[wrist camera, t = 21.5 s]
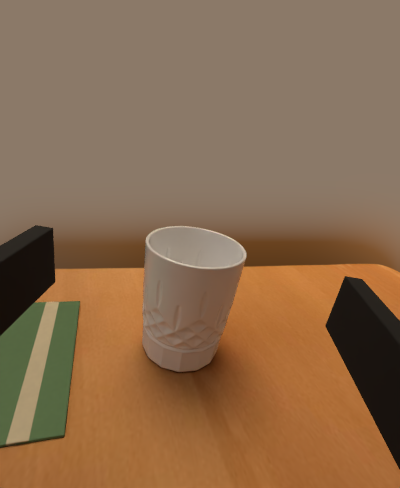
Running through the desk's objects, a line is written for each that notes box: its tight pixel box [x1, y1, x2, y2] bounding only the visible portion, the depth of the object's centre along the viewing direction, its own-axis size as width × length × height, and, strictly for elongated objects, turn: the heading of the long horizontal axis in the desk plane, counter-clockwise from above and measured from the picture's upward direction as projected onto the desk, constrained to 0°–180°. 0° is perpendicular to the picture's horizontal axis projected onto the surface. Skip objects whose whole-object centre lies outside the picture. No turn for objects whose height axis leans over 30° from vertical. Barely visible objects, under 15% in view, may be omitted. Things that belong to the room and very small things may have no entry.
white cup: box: [142, 226, 246, 372], centre depth 25 cm, size 8×8×10 cm
